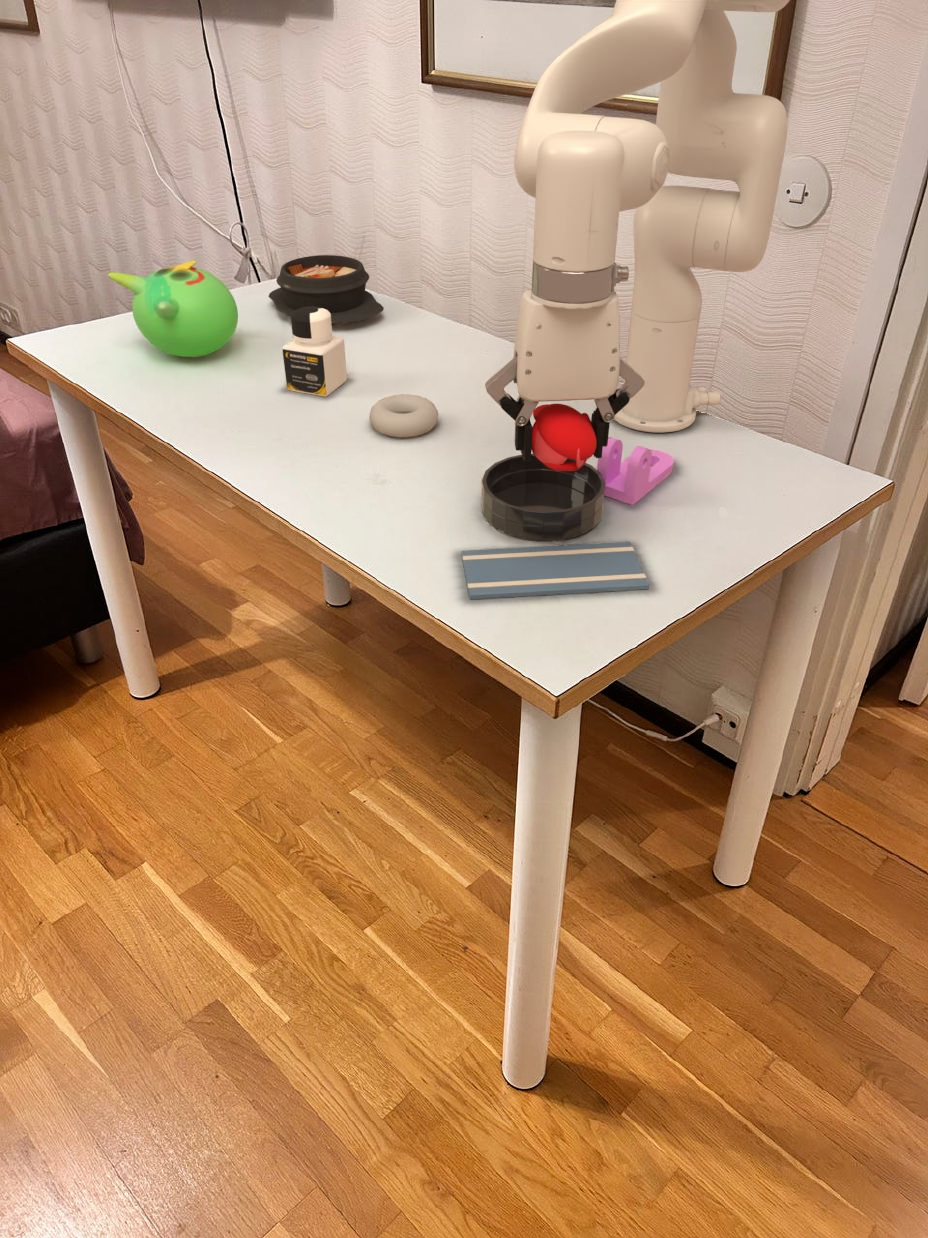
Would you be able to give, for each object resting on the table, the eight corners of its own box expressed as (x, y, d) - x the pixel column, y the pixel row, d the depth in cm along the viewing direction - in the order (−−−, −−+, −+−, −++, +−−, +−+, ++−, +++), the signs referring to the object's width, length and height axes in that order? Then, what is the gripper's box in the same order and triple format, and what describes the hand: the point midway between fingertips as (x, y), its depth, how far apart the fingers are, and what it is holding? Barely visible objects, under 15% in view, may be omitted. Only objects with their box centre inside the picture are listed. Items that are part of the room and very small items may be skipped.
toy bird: (262, 352, 160) (250, 263, 151) (179, 381, 150) (161, 288, 141) (199, 327, 169) (184, 243, 160) (116, 353, 159) (96, 265, 150)
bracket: (632, 505, 118) (639, 455, 114) (594, 492, 121) (599, 443, 117) (679, 466, 127) (686, 418, 123) (642, 454, 129) (648, 407, 125)
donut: (362, 439, 134) (430, 444, 132) (359, 416, 132) (429, 421, 130) (380, 409, 142) (445, 414, 140) (379, 388, 139) (444, 392, 138)
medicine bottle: (286, 390, 147) (277, 314, 140) (309, 374, 152) (301, 299, 145) (326, 397, 145) (319, 321, 137) (348, 380, 150) (342, 305, 143)
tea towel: (629, 545, 111) (629, 540, 110) (648, 589, 104) (649, 584, 103) (461, 554, 109) (461, 549, 109) (469, 599, 102) (469, 594, 102)
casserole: (246, 307, 178) (240, 262, 173) (324, 285, 188) (320, 242, 183) (327, 341, 163) (323, 293, 158) (407, 316, 174) (405, 269, 169)
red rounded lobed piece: (608, 463, 98) (614, 409, 94) (573, 483, 95) (578, 429, 91) (549, 439, 102) (552, 387, 99) (513, 458, 99) (515, 405, 95)
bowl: (588, 479, 124) (591, 450, 121) (614, 539, 112) (617, 509, 109) (475, 484, 123) (476, 455, 120) (489, 546, 111) (490, 515, 108)
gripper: (652, 266, 91) (632, 434, 102) (475, 271, 90) (474, 441, 100) (674, 290, 85) (650, 467, 96) (484, 296, 84) (481, 474, 94)
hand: (560, 452), depth 98 cm, fingers closed on red rounded lobed piece, 6 cm apart
